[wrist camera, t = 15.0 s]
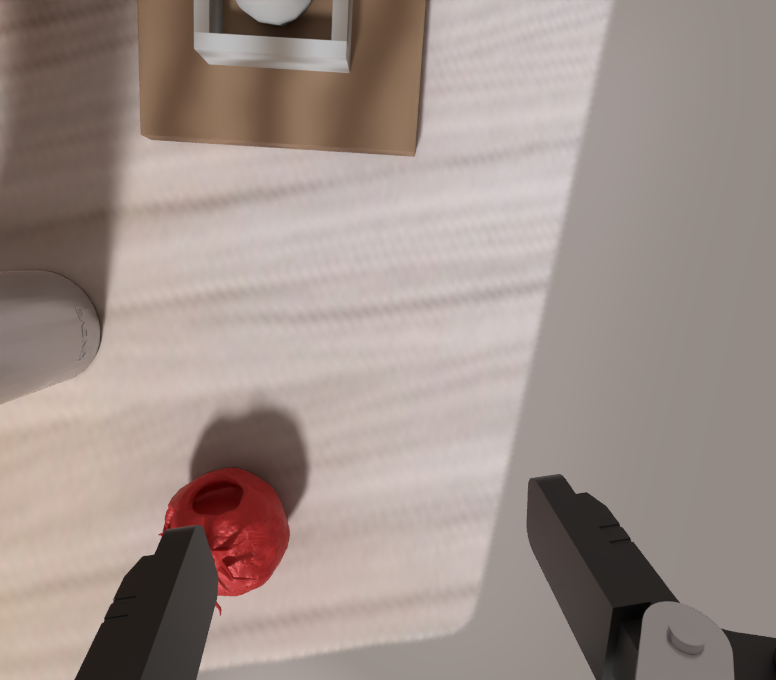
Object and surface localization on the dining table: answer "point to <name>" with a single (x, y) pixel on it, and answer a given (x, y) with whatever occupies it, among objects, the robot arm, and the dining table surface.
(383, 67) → the holder board
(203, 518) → the red round piece
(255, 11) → the salt shaker
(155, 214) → the dining table surface
